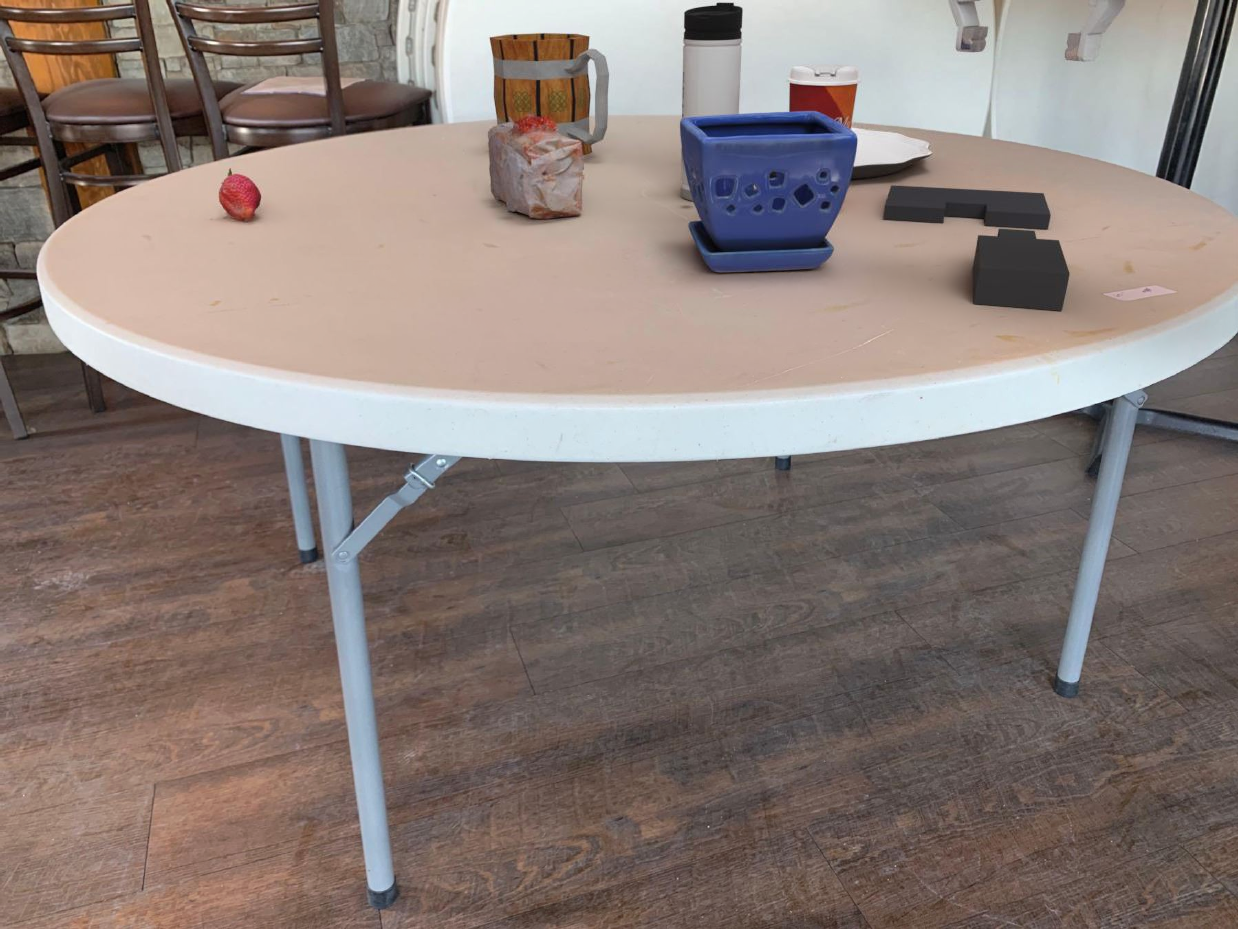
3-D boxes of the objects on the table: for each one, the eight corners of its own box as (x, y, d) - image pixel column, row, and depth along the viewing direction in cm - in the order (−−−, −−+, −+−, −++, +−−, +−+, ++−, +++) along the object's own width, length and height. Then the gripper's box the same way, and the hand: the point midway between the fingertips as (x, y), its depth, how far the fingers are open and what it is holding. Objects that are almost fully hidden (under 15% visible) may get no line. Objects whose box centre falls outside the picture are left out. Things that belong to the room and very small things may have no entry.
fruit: (228, 226, 101) (218, 177, 99) (219, 214, 106) (209, 168, 103) (270, 221, 103) (261, 173, 100) (259, 210, 107) (251, 163, 105)
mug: (477, 152, 137) (468, 37, 130) (549, 140, 145) (545, 31, 138) (569, 171, 124) (564, 45, 117) (642, 156, 133) (642, 38, 126)
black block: (1049, 265, 85) (1056, 231, 84) (1061, 311, 74) (1069, 273, 73) (972, 260, 87) (977, 226, 86) (973, 304, 76) (979, 266, 75)
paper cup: (850, 211, 104) (864, 71, 97) (778, 209, 105) (787, 71, 98) (846, 195, 111) (859, 63, 104) (779, 193, 112) (787, 63, 105)
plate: (968, 159, 128) (971, 141, 127) (850, 197, 109) (853, 175, 108) (785, 136, 146) (786, 119, 145) (657, 164, 127) (657, 146, 126)
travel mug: (745, 193, 112) (754, 2, 103) (720, 204, 107) (728, 5, 98) (696, 187, 115) (701, 1, 105) (670, 199, 110) (673, 4, 100)
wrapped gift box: (595, 217, 103) (593, 120, 98) (526, 226, 99) (520, 126, 95) (543, 193, 113) (539, 104, 109) (479, 200, 110) (472, 109, 105)
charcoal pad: (1041, 206, 105) (1044, 192, 104) (1047, 229, 96) (1051, 214, 95) (889, 198, 109) (891, 184, 108) (883, 219, 100) (884, 204, 100)
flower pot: (694, 283, 82) (698, 136, 76) (675, 241, 94) (677, 112, 88) (848, 278, 83) (863, 132, 77) (810, 237, 94) (821, 109, 89)
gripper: (1243, -181, 59) (1184, 63, 65) (967, -152, 74) (941, 44, 80) (1187, -187, 56) (1131, 70, 62) (911, -155, 71) (889, 49, 77)
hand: (1022, 55), depth 71 cm, fingers open, 8 cm apart
